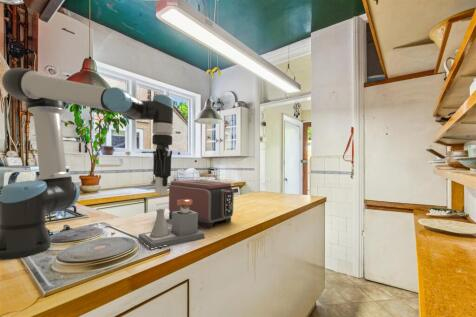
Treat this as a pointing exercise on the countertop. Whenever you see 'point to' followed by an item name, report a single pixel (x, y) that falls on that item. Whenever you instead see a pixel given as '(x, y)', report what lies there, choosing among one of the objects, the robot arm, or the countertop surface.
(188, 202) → the copper ovoid
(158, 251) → the countertop surface
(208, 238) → the countertop surface
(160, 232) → the flask
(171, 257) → the countertop surface
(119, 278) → the countertop surface
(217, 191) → the toaster
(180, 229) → the press
